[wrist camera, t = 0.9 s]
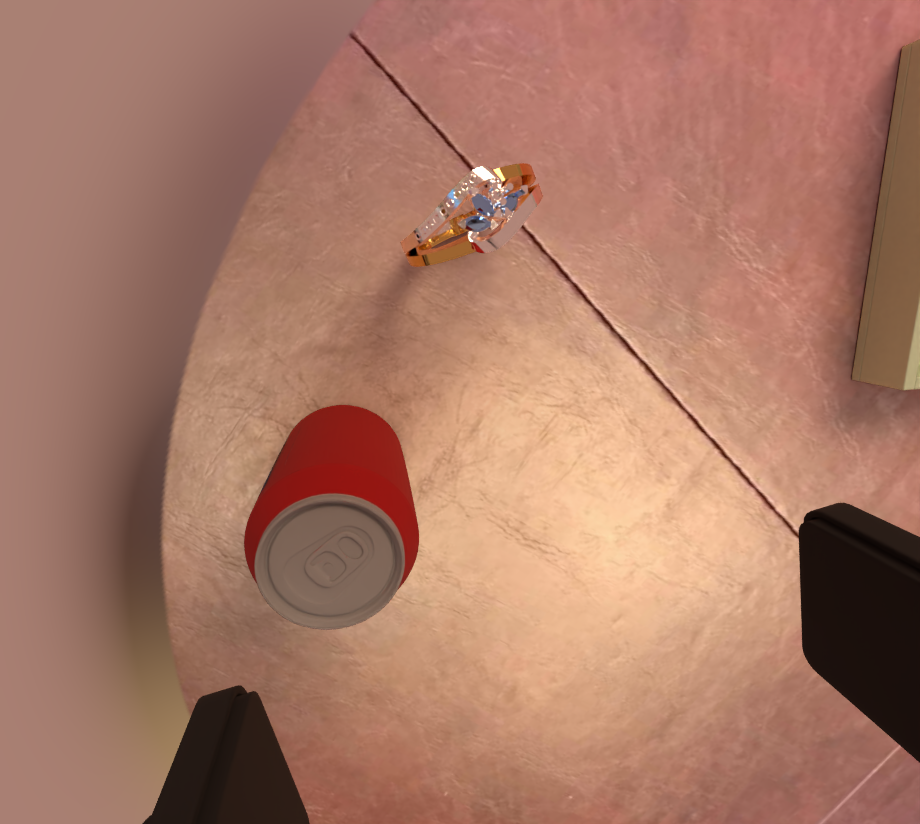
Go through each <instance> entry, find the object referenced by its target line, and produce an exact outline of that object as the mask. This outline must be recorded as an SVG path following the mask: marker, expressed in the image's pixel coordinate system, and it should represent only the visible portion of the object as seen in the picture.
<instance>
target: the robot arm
mask: <svg viewBox="0 0 920 824" xmlns="http://www.w3.org/2000/svg"><path fill="white" fill-rule="evenodd" d="M799 555H800V587H801V619H802V647H803V652H804V655H805V657H806V659H807V661H808V663H809V664H810V666H811V667H812V668H813V669H814V670H815V671H816V672H817V673H818V674H819V675H820V676H821V677H823V678H824V679H825V680H826V681H827V682H828V683H829V684H831V685H832V686H833V687H834V688H835V689H836V690H837V691H839V692H840V693H841V694H842V695H843V696H844V697H845V698H847V699H848V700H849V701H850V702H851V703H852V704H853V705H855V706H856V707H857V708H858V709H859V710H860V711H861V712H863V713H864V714H865V715H866V716H867V717H868V718H869V719H871V720H872V721H873V722H874V723H875V724H876V725H877V726H879V727H880V728H881V729H882V730H883V731H884V732H885V733H887V734H888V735H889V736H890V737H891V738H892V739H893V740H895V741H896V742H897V743H898V744H899V745H900V746H901V747H903V748H904V749H905V750H906V751H907V752H908V753H909V754H911V755H912V756H913V757H914V758H915V759H916V760H917V761H919V762H920V537H918V536H916V535H914V534H912V533H910V532H908V531H905V530H903V529H901V528H899V527H897V526H895V525H893V524H890V523H888V522H886V521H884V520H882V519H880V518H878V517H876V516H873V515H871V514H869V513H867V512H865V511H863V510H861V509H858V508H856V507H854V506H852V505H850V504H846V503H836V504H833V505H830V506H826V507H823V508H820V509H816V510H813V511H810V512H809V513H807V514H806V516H805V517H804V523H803V524H801V525H800V527H799ZM143 824H309V818H308V815H307V812H306V810H305V807H304V805H303V802H302V800H301V798H300V795H299V793H298V790H297V788H296V785H295V783H294V780H293V778H292V775H291V773H290V770H289V768H288V765H287V763H286V761H285V758H284V756H283V753H282V751H281V748H280V746H279V743H278V741H277V738H276V736H275V733H274V731H273V729H272V726H271V724H270V721H269V719H268V716H267V714H266V711H265V709H264V706H263V704H262V701H261V699H260V697H259V695H258V693H257V692H255V691H253V692H249V693H247V692H246V690H245V689H244V688H243V687H242V686H235V687H231V688H228V689H225V690H221V691H218V692H215V693H212V694H208V695H205V696H202V697H201V698H200V699H199V700H198V702H197V703H196V705H195V708H194V710H193V713H192V715H191V718H190V720H189V723H188V725H187V728H186V730H185V733H184V735H183V738H182V741H181V743H180V745H179V748H178V751H177V753H176V756H175V758H174V761H173V763H172V766H171V768H170V771H169V773H168V776H167V778H166V781H165V783H164V786H163V788H162V791H161V794H160V796H159V798H158V801H157V803H156V806H155V808H154V811H153V813H152V815H151V816H149V818H147V819H146V820H145V822H144V823H143Z"/></svg>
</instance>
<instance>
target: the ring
mask: <svg viewBox="0 0 920 824" xmlns="http://www.w3.org/2000/svg"><path fill="white" fill-rule="evenodd" d="M535 180H536V177H535V174H534V172H533V169H532V166H531V165H529V164H524V163H522V164H514V165H509V166H505V167H501V168H498V169H495V170H493V169H492V168H490V167H487V166H483V167H479V168H476V169H474V170H472V171H471V172H469V173H468V174H467V175H466V176H465V177H463V178H462V179H461V180H460V182H459V183H458V184H457V185H456V186H455V187H454V188H453V189H452V191H451V192H450V193H449V194H448V195H447V197H446V198H445V199H444V200H443V201H442V202H441V204H440V205H439V206H438V207H437V208H436V209H435V210H434V211H433V212H432V213H431V215H430V216H429V217H428V218H427V219H426V220H425V221H424V222H423V223H422V224H421V225H420V226H419V227H418V228H416V229H415V230H414V231H413V232H412V233H411V234H410V235H409V236H407V237H406V238H405V239H404V240H402V241H401V242H400V243H401V246H402V249H403V251H404V253H406V252H407V253H406V254H405V255H406V257H407V259H408V262H409V264H410V265H411V266H415V267H419V266H428V265H433V264H438V263H442V262H445V261H449V260H452V259H455V258H459V257H462V256H465V255H467V254H470V253H473V252H479V253H489V252H492V251H495V250H497V249H499V248H501V247H502V246H503V245H505V244H506V243H507V242H508V241H509V240H510V239H511V238H512V237H513V236H514V235H515V234H516V233H517V231H518V230H519V229H520V228H521V226H522V225H523V224H524V222H525V221H526V220H527V218H528V217H529V216H530V215H531V213H532V212H533V211H534V209H535V208H536V207H537V206H538V204H539V203H540V201H541V200H542V198H543V195H542V192H541V189H540V186H539V184H536V185H534V186H532V187H530V186H531V185H532V184H533V183H534V182H535ZM483 185H488V187H487V188H486V189H484V190H483V191H482V195H481V194H477V193H478V192H479V187H481V186H483ZM467 199H468V201H470V203H471V206H472V208H473V211H471V212H469V213H467V214H465V215H463V214H462V215H460V216H458V217H455V218H453V219H451V218H452V217H453V215H454V214H455V213H456V212H457V211H458V210H459V208H460V207H461V206H462V205H463V204H464V203H465V201H466V200H467ZM450 219H451V220H450ZM503 219H504V220H503ZM501 220H503V221H502V222H501V224H500V225H499V226H498V223H497V222H498V221H501ZM497 226H498V227H497ZM496 227H497V228H496ZM487 228H489V229H491V230H493V229H494V228H496V229H495V230H494V231H493V232H492V233H491V234H489V235H487V236H485V237H479V235H478V232H481V231H484V230H486V229H487ZM466 231H468V233H467V235H465V236H464V237H462V238H460V239H458V240H456V241H453V242H451V243H449V244H446V245H444V246H441V247H438V248H434V249H430V248H432V247H434V246H435V245H437V244H439V243H441V242H443V241H445V240H447V239H449V238H451V237H455V236H457V235H460V234H462V233H464V232H466Z"/></svg>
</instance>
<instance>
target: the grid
mask: <svg viewBox="0 0 920 824" xmlns="http://www.w3.org/2000/svg"><path fill="white" fill-rule="evenodd" d="M852 380H856V381H861V382H866V383H870V384H875V385H880V386H885V387H889V388H894V389H899V390H913V389H920V40H917V41H915V42H913V43H910V44H908V45H906V46H903V47H902V51H901V58H900V64H899V71H898V78H897V84H896V91H895V97H894V104H893V110H892V117H891V123H890V130H889V137H888V143H887V150H886V156H885V163H884V169H883V176H882V182H881V189H880V196H879V202H878V209H877V215H876V222H875V228H874V235H873V242H872V248H871V255H870V261H869V268H868V274H867V281H866V287H865V294H864V301H863V307H862V314H861V320H860V327H859V333H858V340H857V346H856V353H855V360H854V366H853V373H852Z"/></svg>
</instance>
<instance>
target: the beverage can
mask: <svg viewBox="0 0 920 824" xmlns="http://www.w3.org/2000/svg"><path fill="white" fill-rule="evenodd" d="M418 546H419V530H418V523H417V518H416V512H415V507H414V502H413V497H412V492H411V487H410V482H409V478H408V473H407V469H406V465H405V460H404V456H403V452H402V449H401V445H400V442H399V440H398V437H397V435H396V434H395V432H394V431H393V429H392V428H391V427H390V425H389V424H388V423H387V422H386V421H385V420H383V419H382V418H381V417H380V416H378V415H377V414H375V413H373V412H371V411H369V410H367V409H364V408H361V407H357V406H350V405H336V406H330V407H325V408H322V409H320V410H317V411H315V412H313V413H311V414H310V415H308V416H306V417H305V418H304V419H303V420H301V421H300V422H299V423H298V424H297V425H296V426H295V428H294V429H293V430H292V432H291V433H290V435H289V437H288V438H287V440H286V442H285V444H284V446H283V448H282V450H281V452H280V454H279V456H278V458H277V460H276V461H275V463H274V465H273V467H272V470H271V472H270V474H269V476H268V478H267V480H266V482H265V484H264V486H263V488H262V490H261V493H260V495H259V497H258V499H257V501H256V503H255V506H254V508H253V510H252V512H251V514H250V517H249V520H248V522H247V526H246V530H245V539H244V548H245V556H246V560H247V564H248V567H249V569H250V572H251V574H252V576H253V578H254V580H255V581H256V583H257V585H258V587H259V590H260V592H261V594H262V596H263V597H264V599H265V600H266V602H267V603H268V604H269V605H270V606H271V607H272V608H273V609H274V610H275V611H276V612H277V613H278V614H279V615H281V616H282V617H284V618H285V619H287V620H289V621H291V622H293V623H295V624H298V625H301V626H304V627H308V628H313V629H323V630H330V629H340V628H345V627H349V626H353V625H356V624H358V623H361V622H363V621H365V620H367V619H369V618H370V617H372V616H373V615H375V614H376V613H378V612H379V611H380V610H381V609H383V608H384V607H385V606H386V605H387V604H388V603H389V601H390V600H391V599H392V597H393V596H394V595H395V593H396V591H397V590H398V589H399V588H400V587H401V585H402V584H403V583H404V581H405V580H406V578H407V577H408V575H409V573H410V571H411V570H412V567H413V565H414V563H415V560H416V557H417V552H418Z"/></svg>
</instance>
